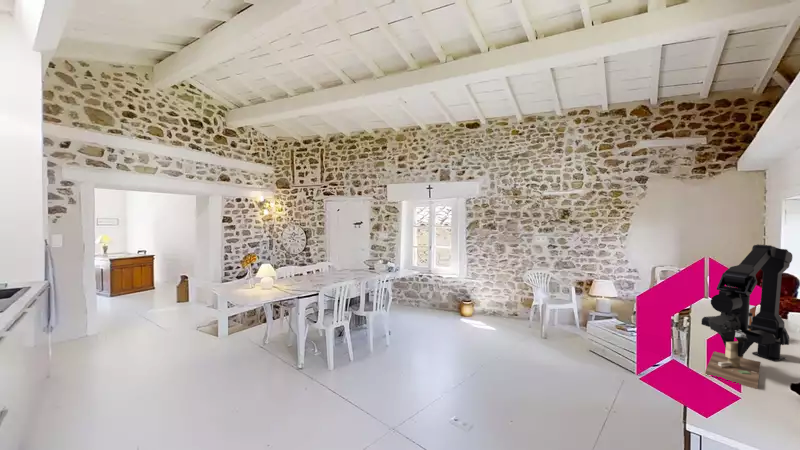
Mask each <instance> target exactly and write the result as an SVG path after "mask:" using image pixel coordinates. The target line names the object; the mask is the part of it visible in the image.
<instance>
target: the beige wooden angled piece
mask: <svg viewBox="0 0 800 450" xmlns="http://www.w3.org/2000/svg"><path fill="white" fill-rule="evenodd" d="M724 352H725V353H724V354H725V357H728V362H718V365H719V366H731V367H734V368H740V358H744V355H743V356H742V357H739V356H738V341H737V340H736V341H735V340H734V341H733V342H726V348H725V351H724Z"/></svg>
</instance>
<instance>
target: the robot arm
mask: <svg viewBox="0 0 800 450" xmlns="http://www.w3.org/2000/svg"><path fill="white" fill-rule="evenodd" d="M792 261H793V253H791V252H790V251H789V250H788V249H786V248H779V247H776V246H774V245H772V244H771V245H770V244H759V243H758V244H754V245H753V246H752V248H751V251H749V253H748V254H747V255H746V257H744V259H743V260H742V261H741V262H740V263H739V264H737V265H733V266H730V267H728V268H727V269H726V270H725V271H724V272H723V273H722V275H721V277H720V279H719V282H718V284H717V286H716V290H718V294H715V295H713V296H712V297H711V299H710V304H711V307H712V308H713V309H714V310H716V311H717V312H719V313H720V314H719V315H715V316H713V315H712V316H709V315H708V316H704V317H703V316H702V319H701V325H702V326H705V327H708V328H709V329H710V330H712V331H714V332H716V333H717V334H719V336H720V337H721V340H722V343H723V344H724V348H725V349H726V342H733V341H735V339H736V341H738V356H739V357H742V356H743V357H744V355H745V353H747V351H748V350H749V348H750V347H751V346H752V345H753V344H754V343H755V344H757V351H754V352H751V354H752V355H754V356H757V357H761V358H764V359H766V360H770V361H773V362H777V361H782V360H786V357H785V356H781V349H782V348H781V347H782V346H785V345H786V346H789V344H790V335H789V333H788V331H787V329H786V327H785V320H784V319H783V318H782V317H781V315H780V313H779V312H780V300H781V289H782V277H783V276H782V275H783V274H784V272H785V271H786V270H788V269H789V268H790V264H791V263H792ZM760 270H761V271H762V281H761V295H760V306H759V312H758V313H756V314H755V316H754V317H753V318H752V322H751V325H748V320H749V316H752V313H750V312H749V305H751V304H750V300H751V295H752V293H753V291H754V290H755V288H756V286H757V284H758V280H757V277H756V275H757V274H758V272H759V271H760ZM748 329H751V331H750V330H748ZM740 330H741V331H740ZM736 332H737V333H740V334H741V337H735V333H736Z"/></svg>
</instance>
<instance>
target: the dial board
mask: <svg viewBox="0 0 800 450" xmlns="http://www.w3.org/2000/svg"><path fill="white" fill-rule="evenodd" d="M718 362H728V357H725V353H723V352H717V351H713V352H712V354H711V357H710V359H709V362H708V364H707V365H706V369H705V372H704V374H707V375H713V376H717V377H722V378H724V379H726V380H730V381H732V382H731V383H733V382H736V383H735V384H737V383H739V384H738V385H740V384H741V386H744V387H749V388H751V389H755V390H758V389H759V387H758V386H759V379H760V371H761V370H760V369H761V361H756V360H754V359H753V360H752V359H748V358H745V357H743V358H740V368H734V367H731V366H719V365H718ZM707 375H706V376H707Z"/></svg>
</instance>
